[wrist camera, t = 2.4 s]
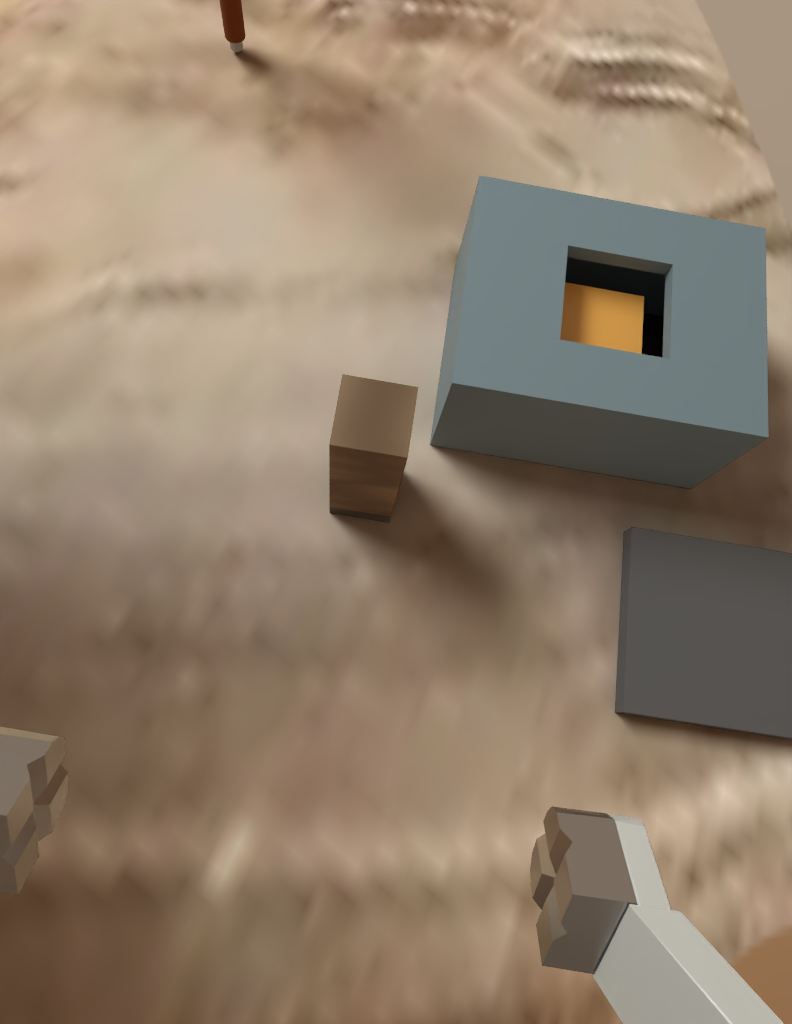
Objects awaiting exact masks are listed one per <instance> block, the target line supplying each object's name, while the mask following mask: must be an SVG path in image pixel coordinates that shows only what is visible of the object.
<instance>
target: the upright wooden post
mask: <svg viewBox="0 0 792 1024" xmlns="http://www.w3.org/2000/svg"><path fill="white" fill-rule="evenodd" d="M417 391H418V387H413V386H407V385H402V384H396V383H390V382H384V381H378V380H373V379H367V378H361V377H355V376H349V375H342V380H341V385H340V391H339V396H338V402H337V407H336V412H335V418H334V423H333V429H332V434H331V439H330V513H335V514H341V515H347V516H353V517H359V518H365V519H371V520H377V521H384V522H389V521H390V517H391V514H392V510H393V507H394V503H395V500H396V496H397V493H398V489H399V486H400V482H401V479H402V475H403V472H404V468H405V465H406V461H407V458H408V451H409V445H410V438H411V431H412V425H413V418H414V411H415V405H416V398H417Z"/></svg>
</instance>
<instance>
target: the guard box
mask: <svg viewBox="0 0 792 1024" xmlns="http://www.w3.org/2000/svg"><path fill="white" fill-rule="evenodd" d="M565 282H566V283H572V284H578V285H583V286H589V287H594V288H600V289H605V290H611V291H616V292H622V293H628V294H633V295H639V296H644V312H643V313H648V314H653V315H659V316H664V327H663V356H662V357H656V356H651V355H645V354H639V353H634V352H628V351H622V350H616V349H611V348H605V347H599V346H594V345H588V344H582V343H577V342H571V341H565V340H560V336H561V325H562V313H563V301H564V289H565ZM768 437H769V434H768V366H767V298H766V230H765V228H760V227H755V226H749V225H744V224H739V223H733V222H728V221H722V220H717V219H712V218H706V217H701V216H695V215H690V214H684V213H679V212H674V211H668V210H663V209H657V208H652V207H647V206H641V205H636V204H630V203H625V202H620V201H614V200H609V199H603V198H598V197H593V196H587V195H582V194H576V193H571V192H566V191H560V190H555V189H549V188H544V187H539V186H533V185H528V184H522V183H517V182H512V181H506V180H501V179H495V178H490V177H484V176H479V180H478V184H477V187H476V191H475V195H474V199H473V202H472V206H471V210H470V213H469V217H468V221H467V224H466V228H465V232H464V235H463V239H462V243H461V247H460V250H459V254H458V258H457V261H456V265H455V271H454V278H453V285H452V292H451V299H450V306H449V314H448V321H447V328H446V335H445V342H444V349H443V356H442V364H441V371H440V378H439V385H438V392H437V399H436V407H435V414H434V421H433V428H432V435H431V442H430V445H434V446H440V447H446V448H452V449H458V450H464V451H470V452H476V453H482V454H487V455H493V456H499V457H505V458H511V459H517V460H523V461H529V462H535V463H541V464H547V465H553V466H559V467H565V468H571V469H577V470H582V471H588V472H594V473H600V474H606V475H612V476H618V477H624V478H630V479H636V480H642V481H648V482H654V483H660V484H666V485H671V486H677V487H683V488H689V489H692V488H693V487H695V486H696V485H698V484H699V483H701V482H702V481H704V480H705V479H707V478H708V477H710V476H711V475H713V474H714V473H716V472H717V471H719V470H720V469H722V468H723V467H725V466H726V465H728V464H729V463H731V462H732V461H734V460H735V459H737V458H738V457H740V456H741V455H743V454H744V453H746V452H747V451H749V450H750V449H752V448H753V447H755V446H756V445H758V444H759V443H761V442H762V441H764V440H765V439H767V438H768Z"/></svg>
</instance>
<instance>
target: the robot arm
mask: <svg viewBox="0 0 792 1024" xmlns="http://www.w3.org/2000/svg"><path fill="white" fill-rule="evenodd" d="M65 754H66V747H65V739H64V738H62V737H58V736H53V735H47V734H41V733H35V732H29V731H23V730H17V729H12V728H6V727H0V893H5V894H14V895H18V894H19V892H20V890H21V888H22V886H23V885H24V883H25V881H26V879H27V877H28V876H29V874H30V872H31V870H32V868H33V866H34V865H35V863H36V861H37V859H38V857H39V852H38V842H37V841H39V840H41V839H42V838H44V837H45V836H47V835H48V834H50V833H51V832H52V831H53V829H54V827H55V826H56V824H57V822H58V820H59V818H60V816H61V813H62V810H63V807H64V804H65V801H66V798H67V791H68V772H67V771H66V770H65V769H64V768H63V767H62V765H61V764H60V763H61V761H62V760H63V758H64V756H65ZM544 827H545V834H544V835H542V836H541V837H539V838H538V839H537V840H536V843H535V846H534V849H533V852H532V859H531V867H530V879H531V890H532V898H533V899H534V901H535V902H536V903H537V905H538V906H539V907H540V909H541V910H542V911H541V914H540V916H539V919H538V921H537V924H536V927H537V934H538V941H539V948H540V954H541V961H542V966H547V967H554V968H560V969H566V970H572V971H578V972H584V973H590V974H594V976H593V977H594V979H595V980H596V982H597V984H598V985H599V987H600V988H601V990H602V991H603V993H604V994H605V996H606V998H607V999H608V1001H609V1002H610V1004H611V1005H612V1007H613V1008H614V1010H615V1012H616V1013H617V1015H618V1016H619V1018H620V1019H621V1021H622V1023H623V1024H784V1023H783V1022H782V1021H781V1020H780V1019H779V1018H778V1017H777V1016H776V1015H775V1013H774V1012H773V1011H772V1010H771V1009H770V1008H769V1007H768V1006H767V1005H766V1004H765V1003H764V1002H763V1001H762V999H760V997H759V996H758V995H757V994H756V993H755V992H754V991H753V990H752V988H751V987H750V986H749V985H748V984H747V983H746V982H745V981H744V980H743V979H742V978H741V977H740V975H739V974H738V973H737V972H736V971H735V970H734V969H733V968H732V967H731V966H730V965H729V963H728V962H727V961H726V960H725V959H724V958H723V957H722V956H721V955H720V954H719V953H718V952H717V950H716V949H715V948H714V947H713V946H712V945H711V944H710V943H709V942H708V941H707V940H706V938H705V937H704V936H703V935H702V934H701V933H700V932H699V931H698V930H697V929H696V928H695V927H694V925H693V924H692V923H691V922H690V921H689V920H688V919H687V918H686V917H685V916H684V915H683V913H682V912H681V911H675V910H672V909H671V906H670V903H669V900H668V897H667V894H666V891H665V888H664V884H663V881H662V878H661V875H660V872H659V869H658V866H657V863H656V860H655V857H654V854H653V851H652V848H651V844H650V841H649V838H648V835H647V832H646V829H645V826H644V824H643V823H642V821H641V820H640V819H638V818H631V817H624V816H617V815H608V814H605V813H598V812H590V811H582V810H575V809H567V808H559V807H551V808H550V809H549V810H548V811H547V814H546V816H545V819H544Z"/></svg>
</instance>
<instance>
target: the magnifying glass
mask: <svg viewBox="0 0 792 1024" xmlns="http://www.w3.org/2000/svg"><path fill="white" fill-rule="evenodd" d="M220 6H221V13H222V19H223V26H224V32H225V38H226V39H227V40H228V41H229V42H230V47H231V49H232V50H233V51H235V52H240V51H241V50H242V49H243V43H242V41H243V40H244V39H245V29H244V21H243V13H242V5H241V0H220Z"/></svg>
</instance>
